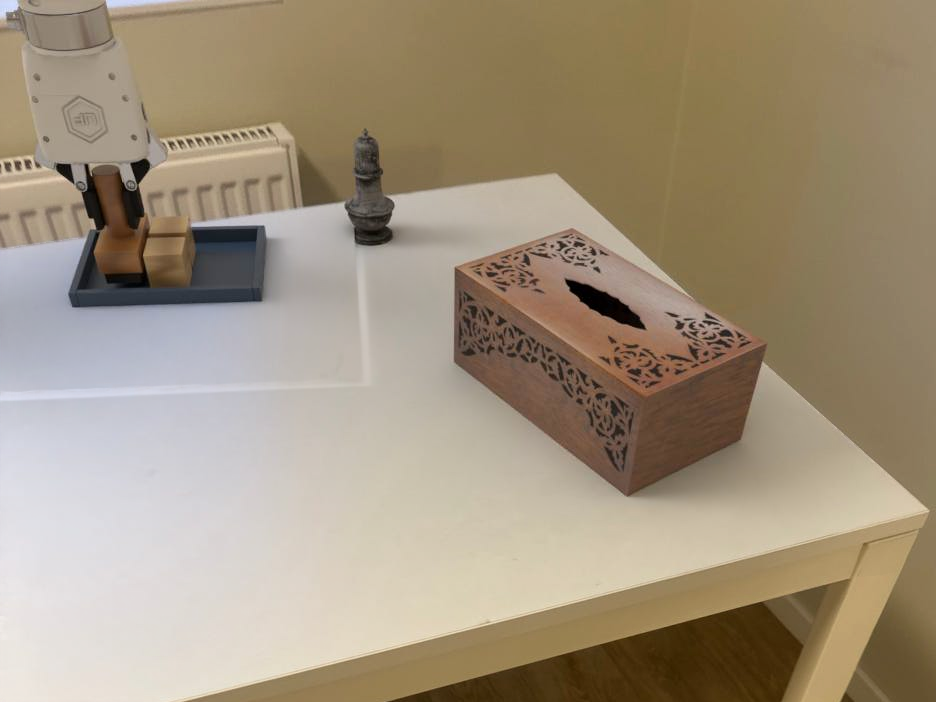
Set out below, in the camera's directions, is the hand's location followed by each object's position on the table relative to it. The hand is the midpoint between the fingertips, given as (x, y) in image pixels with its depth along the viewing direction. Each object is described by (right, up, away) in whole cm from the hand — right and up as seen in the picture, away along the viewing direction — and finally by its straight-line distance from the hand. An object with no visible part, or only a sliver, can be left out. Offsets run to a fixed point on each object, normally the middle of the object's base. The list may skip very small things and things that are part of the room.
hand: (118, 222), depth 102 cm
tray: (+4, -4, +5) cm, 8 cm away
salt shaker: (+25, +4, +13) cm, 29 cm away
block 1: (+4, -2, +6) cm, 8 cm away
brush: (0, -3, +3) cm, 5 cm away
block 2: (+5, -5, +3) cm, 8 cm away
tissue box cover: (+49, -21, -8) cm, 54 cm away
